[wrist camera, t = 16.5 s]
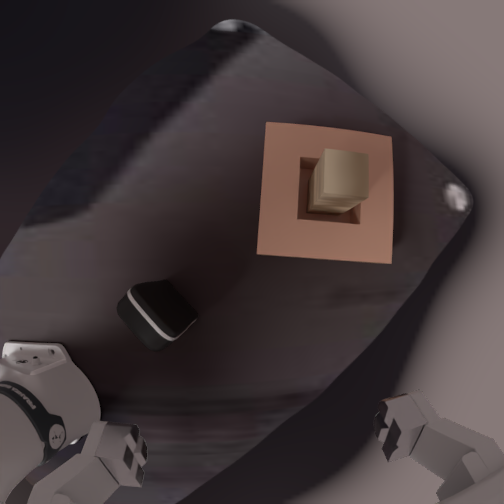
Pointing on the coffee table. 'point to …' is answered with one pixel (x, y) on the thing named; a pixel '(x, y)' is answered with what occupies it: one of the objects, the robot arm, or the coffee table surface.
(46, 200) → the coffee table surface
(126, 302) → the battery charger
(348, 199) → the maple pin
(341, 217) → the terracotta socket block
